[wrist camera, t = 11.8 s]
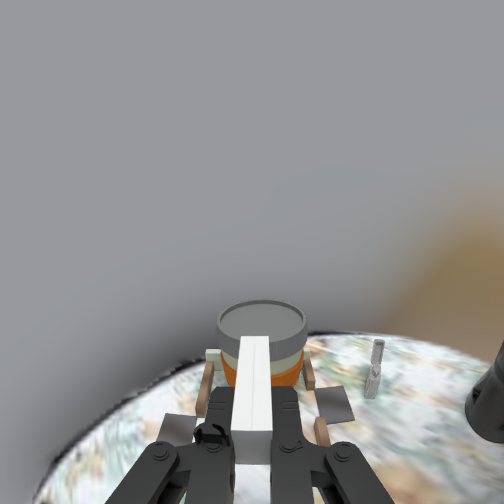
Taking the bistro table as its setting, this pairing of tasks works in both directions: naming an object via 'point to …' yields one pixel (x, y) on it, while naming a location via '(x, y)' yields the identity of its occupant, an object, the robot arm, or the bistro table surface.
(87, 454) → the bistro table surface
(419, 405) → the bistro table surface
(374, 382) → the lighter
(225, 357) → the reusable coffee cup
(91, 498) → the bistro table surface
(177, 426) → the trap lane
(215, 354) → the pale grey board
